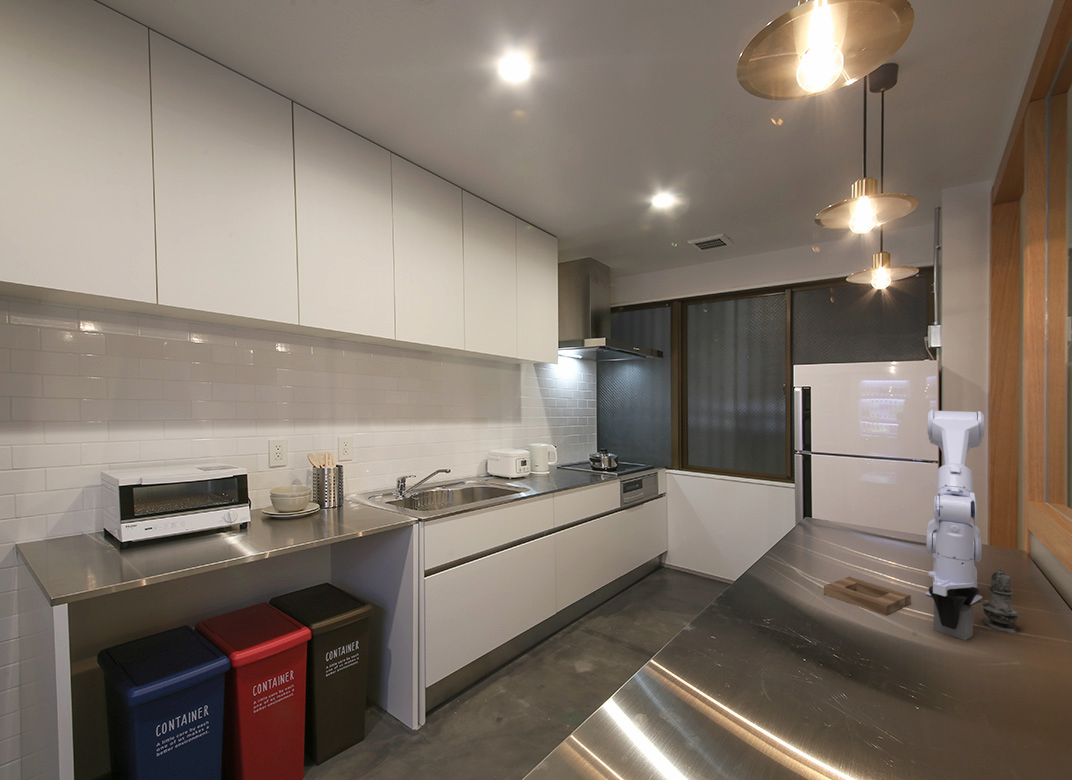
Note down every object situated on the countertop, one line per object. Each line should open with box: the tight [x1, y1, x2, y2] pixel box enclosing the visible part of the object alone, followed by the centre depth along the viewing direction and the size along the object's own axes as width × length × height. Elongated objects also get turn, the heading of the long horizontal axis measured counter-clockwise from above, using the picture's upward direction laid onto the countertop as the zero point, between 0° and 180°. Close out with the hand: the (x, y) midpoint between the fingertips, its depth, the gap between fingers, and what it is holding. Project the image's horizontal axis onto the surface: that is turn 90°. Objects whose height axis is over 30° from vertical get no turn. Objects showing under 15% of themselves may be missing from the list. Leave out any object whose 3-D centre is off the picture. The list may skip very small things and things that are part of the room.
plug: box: [933, 602, 974, 641], centre depth 99 cm, size 4×5×6 cm
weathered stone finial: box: [980, 567, 1021, 634], centre depth 102 cm, size 6×6×12 cm
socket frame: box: [823, 576, 912, 616], centre depth 115 cm, size 12×13×2 cm
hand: (953, 624), depth 99 cm, fingers closed on plug, 4 cm apart
